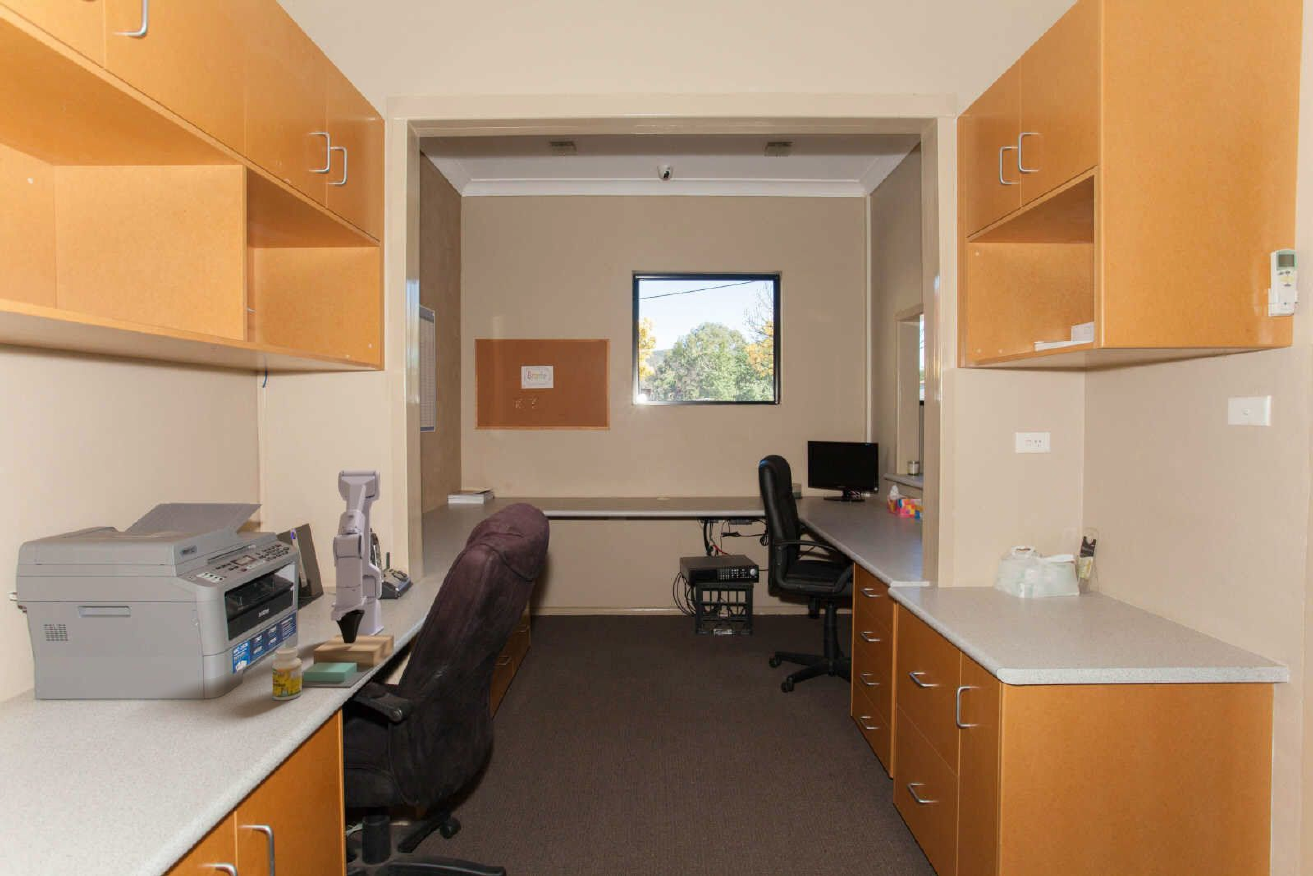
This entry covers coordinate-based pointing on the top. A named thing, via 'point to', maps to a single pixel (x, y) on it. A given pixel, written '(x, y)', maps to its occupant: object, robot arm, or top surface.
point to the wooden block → (356, 650)
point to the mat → (339, 684)
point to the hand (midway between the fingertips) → (349, 642)
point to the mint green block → (330, 672)
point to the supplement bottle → (287, 674)
